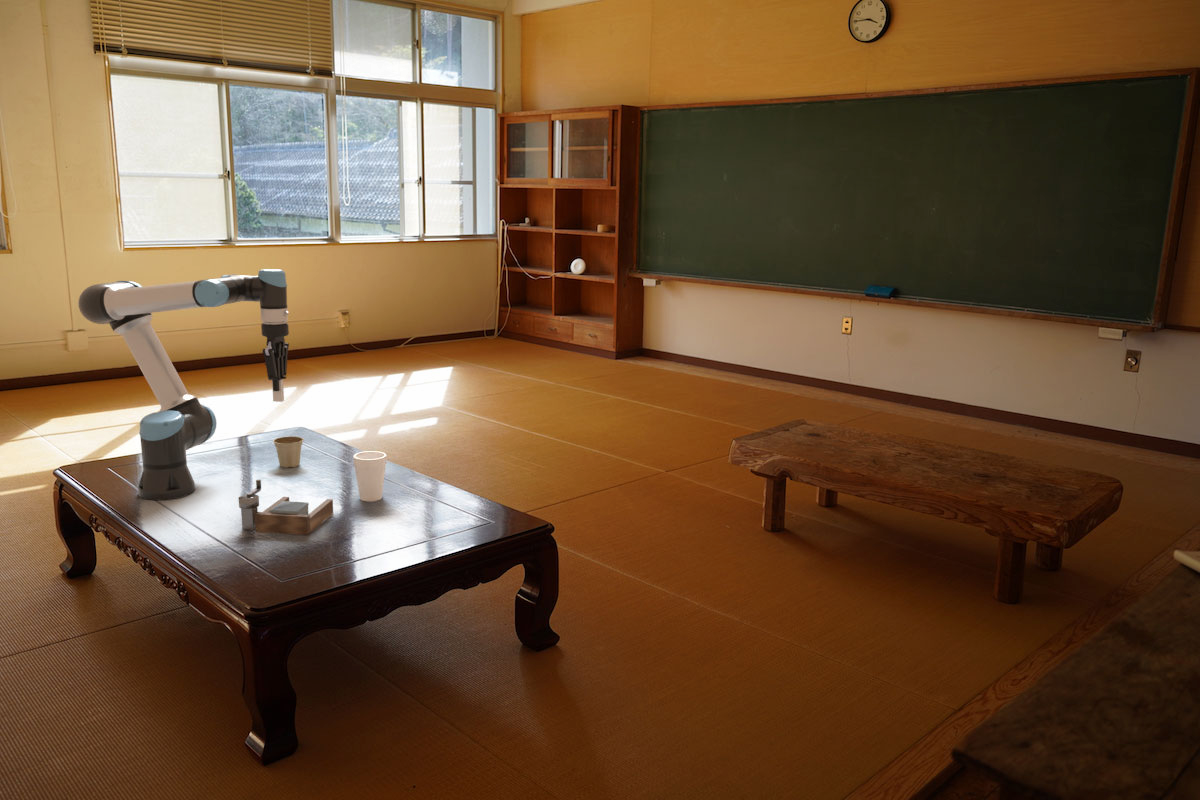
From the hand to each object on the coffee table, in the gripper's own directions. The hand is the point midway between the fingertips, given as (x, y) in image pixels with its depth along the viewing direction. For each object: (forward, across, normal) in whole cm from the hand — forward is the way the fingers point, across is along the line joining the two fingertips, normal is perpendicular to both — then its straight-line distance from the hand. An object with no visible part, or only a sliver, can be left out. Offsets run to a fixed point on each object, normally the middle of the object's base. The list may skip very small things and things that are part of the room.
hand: (278, 400), depth 275 cm
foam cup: (+27, -7, -30) cm, 41 cm away
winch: (+26, -34, -7) cm, 44 cm away
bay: (+26, -30, -17) cm, 43 cm away
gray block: (+27, -34, -17) cm, 46 cm away
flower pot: (+27, +21, +7) cm, 35 cm away
